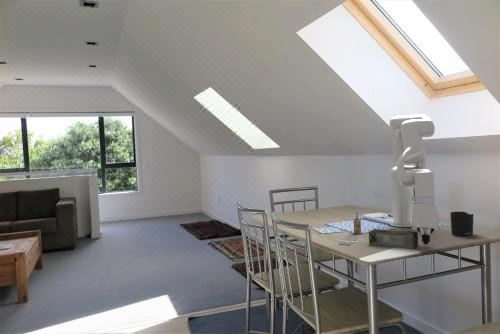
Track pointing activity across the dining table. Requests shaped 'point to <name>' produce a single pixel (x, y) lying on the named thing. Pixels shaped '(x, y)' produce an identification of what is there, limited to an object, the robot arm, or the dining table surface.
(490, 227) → the dining table surface
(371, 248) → the dining table surface
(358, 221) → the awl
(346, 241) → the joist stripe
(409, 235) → the beverage carton
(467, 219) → the pen holder
